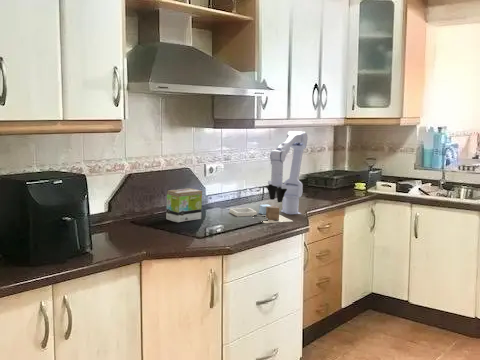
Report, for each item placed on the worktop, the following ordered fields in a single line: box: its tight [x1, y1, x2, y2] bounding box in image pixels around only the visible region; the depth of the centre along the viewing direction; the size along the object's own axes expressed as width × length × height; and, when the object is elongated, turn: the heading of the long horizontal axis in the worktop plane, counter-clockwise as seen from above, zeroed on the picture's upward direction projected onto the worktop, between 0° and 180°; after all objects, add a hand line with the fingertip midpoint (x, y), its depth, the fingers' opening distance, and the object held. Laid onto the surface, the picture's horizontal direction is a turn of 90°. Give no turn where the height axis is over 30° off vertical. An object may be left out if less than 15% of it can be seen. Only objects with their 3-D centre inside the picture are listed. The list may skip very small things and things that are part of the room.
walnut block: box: [265, 205, 280, 220], centre depth 287 cm, size 5×5×6 cm
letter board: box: [262, 214, 293, 224], centre depth 287 cm, size 16×16×1 cm
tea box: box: [165, 187, 203, 223], centre depth 281 cm, size 15×10×15 cm
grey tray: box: [229, 207, 258, 218], centre depth 297 cm, size 11×11×2 cm
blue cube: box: [258, 203, 272, 216], centre depth 300 cm, size 5×5×5 cm
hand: (275, 200), depth 285 cm, fingers open, 7 cm apart
